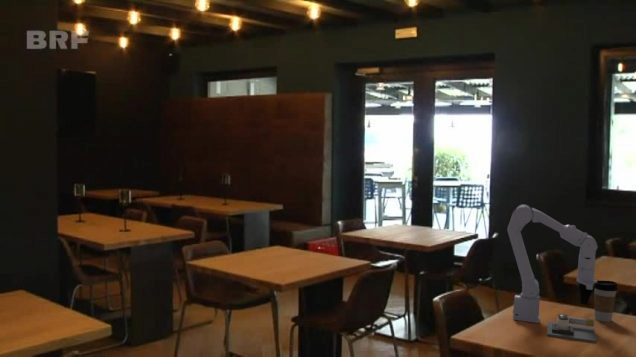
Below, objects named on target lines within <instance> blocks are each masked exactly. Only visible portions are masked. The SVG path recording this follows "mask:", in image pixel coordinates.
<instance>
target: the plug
mask: <svg viewBox="0 0 636 357" xmlns="http://www.w3.org/2000/svg"><path fill="white" fill-rule="evenodd" d="M556 323H557V326H555V329H561V330H568V331H570V328H569V324H570V323H569V319H568V317H566V316H558V315H557V318H556Z"/></svg>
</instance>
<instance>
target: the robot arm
mask: <svg viewBox="0 0 636 357" xmlns="http://www.w3.org/2000/svg"><path fill="white" fill-rule="evenodd" d="M531 222H532V223H541V224H542V225H544V226H546V227H549V228H550V229H552V230H554V231H556V232H558V233H559V235H560V236H559V237H560V238H561V239H563V240H565V241H567V242H568V243H570V244H571V245H573V246H575V247H579V255H578V261H577V262H578V263H577V275H576V276H577V277H576V282H577V283H576V284H575V286H576V288H577V292H578V297H579V302H580V305H585V306H587V305H588V303H589V300H590V297H591V295H592V293H593V291H595V288H594V283H597V281H598V280H596V279H595V268H596V253H597V250H598V244H597V241H596V239H595V238H594V237H593V236H592V235H589V234H588V233H587V232H586V231H585V232H583V231H582V230H580V229H578V228H577V227H576V225H574V224H572V225H571V224H565V225H564V224H562V223H561V222H559V221H558V220H555V219H554V218H552V217H551V216H549V215H547V214H546V213H544V212H543V211H541V210H538V209H536V208H535V207H530V205H528V204H525V203H524V204H519V205H518V206H517V207H516V208H515V209H514V210H513V211H512V214H511V218H510V220H509V223H508V226H507V229H506V230H507V233H508V238H509V242H510V244H511V248H512V251H513V255H514V258H515V261H516V264H517V268H518V271H519V274H520V279H521V287H522V288H521V293H519V294H515V295H514V300H513V309H512V314H513V315H512V316H513V317H512V320H514V321H520V322H530V323H536V324H539V323H540V320H541V317H540V315H539V314H540V300H541V296H540V283H539V281H538V279H536V278H535V277H536V276H535V275H534V272H533V269H532V266H531V264H530V260H529V256H528V253H527V250H526V246H525V243H524V239H523V236H522V233H521V232H522V230H523V229H524V227H525V226H526V225H527V224H528V223H531Z"/></svg>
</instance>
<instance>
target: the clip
mask: <svg viewBox="0 0 636 357" xmlns="http://www.w3.org/2000/svg"><path fill="white" fill-rule="evenodd" d="M558 316H566V317H568V319H569V324H571V325H578V326H585V327H593V328H595V327H594V326H595V318H594V319H593V318H584V317H577V316H576V317H575V316H568V314H564V313H558V314H557V317H558Z"/></svg>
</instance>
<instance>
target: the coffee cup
mask: <svg viewBox="0 0 636 357" xmlns="http://www.w3.org/2000/svg"><path fill="white" fill-rule="evenodd" d="M617 283H618V282H616V281H613V280H597V283H594V284H593V287H594V292H593V300H594V304H593V305H594V306H593V307H594V320H596V321H599V322H603V323H604V322H605V323H609V322H612V319H613V312H614V308H615V302H616V297H617V295H616V294H617V291H618V284H617Z"/></svg>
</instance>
